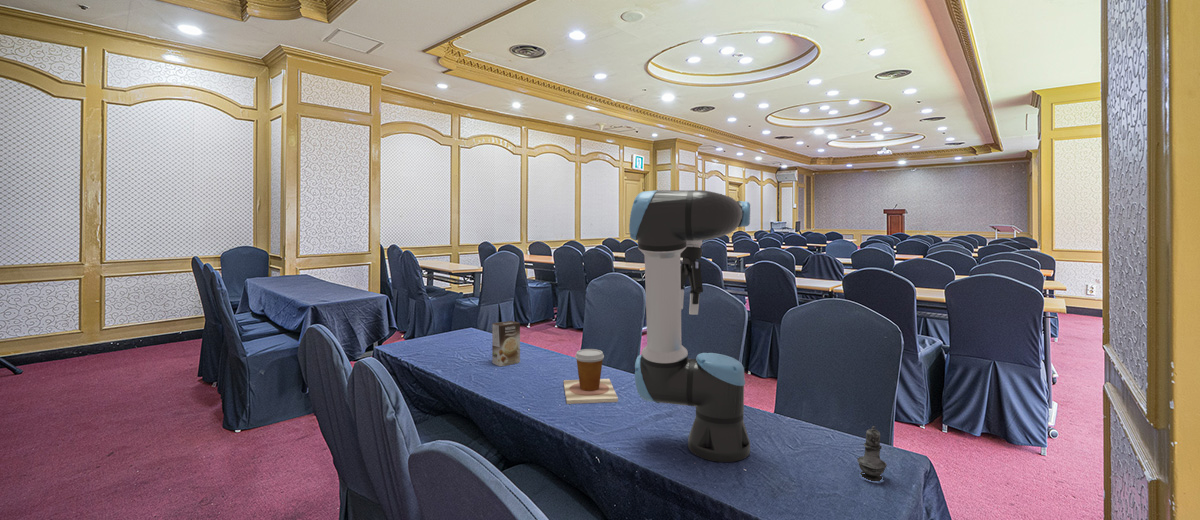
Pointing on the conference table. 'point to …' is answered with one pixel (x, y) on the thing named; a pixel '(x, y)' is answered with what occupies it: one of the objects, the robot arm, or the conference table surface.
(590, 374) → the disposable coffee cup
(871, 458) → the dark grey chess piece
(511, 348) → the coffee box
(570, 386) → the birch board
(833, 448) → the conference table surface
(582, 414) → the conference table surface
